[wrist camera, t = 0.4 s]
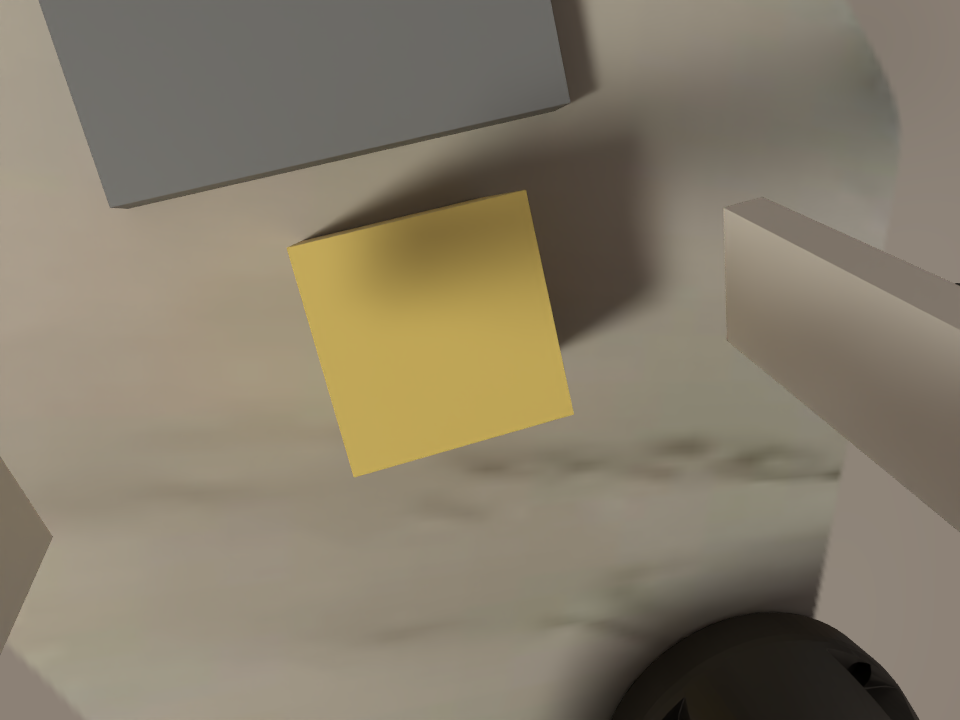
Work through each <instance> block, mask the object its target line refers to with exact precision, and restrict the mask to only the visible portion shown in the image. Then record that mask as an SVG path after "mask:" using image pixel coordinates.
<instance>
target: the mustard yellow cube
mask: <svg viewBox="0 0 960 720" xmlns="http://www.w3.org/2000/svg"><path fill="white" fill-rule="evenodd" d="M287 251H288V254H289V257H290V261H291V264H292V268H293V271H294V275H295V278H296V281H297V285H298V288H299V292H300V295H301V298H302V302H303V305H304V309H305V312H306V315H307V319H308V322H309V326H310V329H311V333H312V336H313V339H314V343H315V346H316V350H317V353H318V356H319V360H320V363H321V367H322V370H323V373H324V377H325V380H326V384H327V387H328V391H329V394H330V397H331V401H332V404H333V408H334V411H335V414H336V418H337V421H338V425H339V428H340V431H341V435H342V438H343V442H344V445H345V449H346V452H347V455H348V459H349V462H350V466H351V469H352V472H353V476H354V477H357V476H361V475H364V474H368V473H371V472H375V471H378V470H382V469H385V468H389V467H392V466H396V465H399V464H403V463H406V462H410V461H413V460H416V459H420V458H423V457H427V456H430V455H434V454H437V453H441V452H444V451H448V450H451V449H455V448H458V447H462V446H465V445H469V444H472V443H476V442H479V441H483V440H486V439H490V438H493V437H497V436H500V435H504V434H507V433H511V432H514V431H518V430H521V429H525V428H528V427H531V426H535V425H538V424H542V423H545V422H549V421H552V420H556V419H559V418H563V417H566V416H570V415H573V414H574V413H573V408H572V404H571V399H570V394H569V390H568V385H567V380H566V376H565V371H564V366H563V362H562V357H561V352H560V348H559V343H558V338H557V333H556V329H555V324H554V319H553V315H552V310H551V305H550V301H549V296H548V291H547V287H546V282H545V277H544V272H543V268H542V263H541V258H540V254H539V249H538V244H537V240H536V235H535V230H534V226H533V221H532V216H531V211H530V207H529V202H528V197H527V193H526V190H522V191H516V192H510V193H505V194H499V195H493V196H487V197H482V198H477V199H473V200H469V201H465V202H461V203H457V204H453V205H449V206H444V207H440V208H436V209H432V210H428V211H424V212H420V213H415V214H411V215H407V216H403V217H399V218H395V219H391V220H387V221H382V222H378V223H374V224H370V225H366V226H362V227H358V228H353V229H349V230H345V231H341V232H337V233H333V234H329V235H325V236H320V237H316V238H312V239H308V240H304V241H301V242H298V243H296V244H294V245H292V246H290V247H287Z"/></svg>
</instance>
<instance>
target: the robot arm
mask: <svg viewBox="0 0 960 720" xmlns="http://www.w3.org/2000/svg"><path fill="white" fill-rule="evenodd" d="M723 210H724V249H725V288H726V327H727V341H728V342H729V343H731V344H732V345H733V346H734V347H735V348H737V349H738V350H739V351H740V352H741V353H743V354H744V355H745V356H746V357H748V358H749V359H750V360H751V361H752V362H754V363H755V364H756V365H757V366H758V367H760V368H761V369H762V370H763V371H765V372H766V373H767V374H768V375H769V376H771V377H772V378H773V379H774V380H775V381H777V382H778V383H779V384H780V385H782V386H783V387H784V388H785V389H786V390H788V391H789V392H790V393H791V394H792V395H794V396H795V397H796V398H797V399H799V400H800V401H801V402H802V403H803V404H805V405H806V406H807V407H808V408H809V409H811V410H812V411H813V412H814V413H816V414H817V415H818V416H819V417H820V418H822V419H823V420H824V421H825V422H827V423H828V424H829V425H830V426H831V427H833V428H834V429H835V430H836V431H837V432H839V433H840V434H841V435H842V436H844V437H845V438H846V439H847V440H848V441H850V442H851V443H852V444H853V445H855V446H856V447H857V448H858V449H859V450H861V451H862V452H863V453H864V454H865V455H867V456H868V457H869V458H870V459H871V460H873V461H874V462H875V463H876V464H878V465H879V466H880V467H881V468H882V469H884V470H885V471H886V472H887V473H888V474H890V475H891V476H892V477H893V478H895V479H896V480H897V481H898V482H900V483H901V484H902V485H903V486H904V487H906V488H907V489H908V490H909V491H910V492H912V493H913V494H914V495H915V496H916V497H918V498H919V499H920V500H921V501H923V502H924V503H925V504H926V505H928V506H929V507H930V508H931V509H932V510H933V511H935V512H936V513H937V514H938V515H940V516H941V517H942V518H943V519H944V520H946V521H947V522H948V523H949V524H951V525H952V526H953V527H954V528H955V529H957V530H958V531H959V532H960V283H955V284H954V283H952V282H950V281H948V280H945V279H943V278H941V277H939V276H937V275H934V274H932V273H930V272H928V271H925V270H923V269H921V268H919V267H917V266H914V265H912V264H910V263H908V262H906V261H903V260H901V259H899V258H897V257H894V256H892V255H890V254H888V253H886V252H883V251H881V250H879V249H877V248H874V247H872V246H870V245H868V244H866V243H863V242H861V241H859V240H857V239H855V238H852V237H850V236H848V235H846V234H843V233H841V232H839V231H837V230H835V229H832V228H830V227H828V226H826V225H824V224H821V223H819V222H817V221H815V220H812V219H810V218H808V217H806V216H804V215H801V214H799V213H797V212H795V211H792V210H790V209H788V208H786V207H784V206H781V205H779V204H777V203H775V202H773V201H770V200H768V199H766V198H764V197H761V198H757V199H753V200H750V201H746V202H742V203H739V204H735V205H731V206H727V207H724V208H723ZM52 537H53V536H52V535H51V533H50V532H49V530H48V529H47V527H46V526H45V524H44V523H43V521H42V520H41V518H40V517H39V515H38V514H37V512H36V510H35V509H34V507H33V506H32V504H31V503H30V501H29V500H28V498H27V497H26V495H25V494H24V492H23V491H22V489H21V488H20V486H19V484H18V483H17V481H16V480H15V478H14V477H13V475H12V474H11V472H10V471H9V469H8V468H7V466H6V465H5V463H4V462H3V460H2V458H1V457H0V654H1V652H2V650H3V648H4V645H5V643H6V641H7V639H8V636H9V634H10V632H11V630H12V627H13V625H14V623H15V621H16V618H17V616H18V614H19V612H20V609H21V607H22V605H23V603H24V600H25V598H26V596H27V594H28V591H29V589H30V587H31V585H32V582H33V580H34V578H35V576H36V573H37V571H38V569H39V567H40V564H41V562H42V560H43V558H44V555H45V553H46V551H47V549H48V546H49V544H50V542H51V540H52ZM611 720H919V718H918V717H917V715H916V713H915V712H914V710H913V708H912V707H911V705H910V703H909V702H908V700H907V698H906V697H905V695H904V694H903V692H902V691H901V689H900V687H899V686H898V684H896V682H895V681H894V679H892V677H891V676H890V675H889V674H888V672H887V671H886V670H885V669H884V668H883V667H882V666H881V665H880V664H879V663H878V662H877V661H875V660H874V659H873V658H872V657H871V656H870V655H868V654H867V653H866V652H865V651H863V650H862V649H861V648H860V647H859V646H858V645H856V644H855V643H854V642H853V641H852V640H850V639H849V638H848V637H847V636H845V635H844V634H843V633H841V632H840V631H838V630H837V629H835V628H833V627H831V626H830V625H828V624H825V623H823V622H821V621H818V620H815V619H812V618H809V617H805V616H801V615H796V614H790V613H756V614H749V615H743V616H739V617H735V618H731V619H728V620H724V621H721V622H719V623H716V624H713V625H711V626H708V627H706V628H704V629H702V630H700V631H698V632H696V633H694V634H692V635H690V636H688V637H687V638H685V639H684V640H682V641H680V642H679V643H677V644H676V645H674V646H673V647H672V648H670V649H669V650H668V651H666V652H665V653H664V654H663V655H661V656H660V657H659V658H658V659H657V660H656V661H655V662H653V663H652V664H651V665H650V666H649V667H648V668H647V669H646V670H645V671H644V672H643V673H642V674H641V676H640V677H639V678H638V679H637V680H636V682H635V683H634V684H633V685H632V687H631V688H630V689H629V691H628V692H627V693H626V695H625V696H624V698H623V699H622V701H621V702H620V704H619V706H618V708H617V709H616V711H615V713H614V715H613V717H612V719H611Z"/></svg>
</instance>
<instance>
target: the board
mask: <svg viewBox="0 0 960 720" xmlns="http://www.w3.org/2000/svg"><path fill="white" fill-rule="evenodd" d="M39 3H40V6H41V9H42V12H43V15H44V18H45V20H46V23H47V26H48V29H49V32H50V35H51V38H52V41H53V44H54V47H55V49H56V52H57V55H58V58H59V61H60V64H61V67H62V70H63V73H64V76H65V78H66V81H67V84H68V87H69V90H70V93H71V96H72V99H73V102H74V105H75V107H76V110H77V113H78V116H79V119H80V122H81V125H82V128H83V131H84V134H85V136H86V139H87V142H88V145H89V148H90V151H91V154H92V157H93V160H94V163H95V165H96V168H97V171H98V174H99V177H100V180H101V183H102V186H103V189H104V192H105V194H106V197H107V200H108V203H109V206H110V208H125V209H129V208H133V207H137V206H142V205H146V204H150V203H155V202H159V201H164V200H168V199H172V198H177V197H181V196H185V195H190V194H194V193H198V192H203V191H207V190H212V189H216V188H220V187H225V186H229V185H233V184H238V183H242V182H247V181H251V180H255V179H260V178H264V177H268V176H273V175H277V174H281V173H286V172H290V171H295V170H299V169H303V168H308V167H312V166H316V165H321V164H325V163H329V162H334V161H338V160H343V159H347V158H351V157H356V156H360V155H364V154H369V153H373V152H378V151H382V150H386V149H391V148H395V147H399V146H404V145H408V144H412V143H417V142H421V141H426V140H430V139H434V138H439V137H443V136H447V135H452V134H456V133H460V132H465V131H469V130H474V129H478V128H482V127H487V126H491V125H495V124H500V123H504V122H509V121H513V120H517V119H522V118H526V117H530V116H535V115H539V114H543V113H548V112H552V111H556V110H557V109H559V108H561V107H563V106H565V105H567V104H569V103H570V98H569V93H568V87H567V82H566V77H565V72H564V67H563V62H562V56H561V51H560V46H559V41H558V36H557V31H556V26H555V20H554V15H553V10H552V5H551V0H39Z"/></svg>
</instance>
